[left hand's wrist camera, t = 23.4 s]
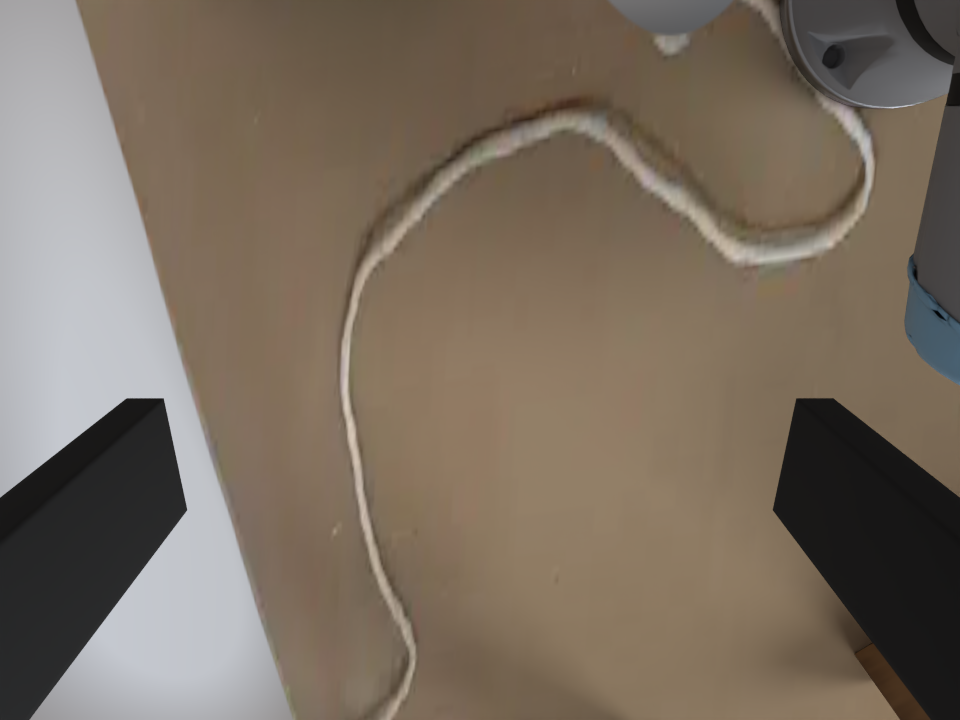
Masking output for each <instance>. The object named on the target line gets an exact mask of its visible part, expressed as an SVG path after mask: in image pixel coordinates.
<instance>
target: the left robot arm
mask: <svg viewBox="0 0 960 720" xmlns="http://www.w3.org/2000/svg"><path fill="white" fill-rule="evenodd" d="M780 15H781V23H782V30H783V34H784V38H785V42H786V44H787V47H788V50H789V53H790V55H791V57H792V59H793V61H794V63H795V64H796V66H797V67H798V69H799V71H800V72H801V73H802V75H803V76H804V77H805V78H806V79H807V81H808V82H809V83H811V84H812V85H813V86H814V87H815V88H816V89H817V90H819V91H820V92H821V93H823V94H824V95H826V96H828V97H829V98H831V99H833V100H835V101H838V102H840V103H842V104H846V105H849V106H853V107H859V108H871V109H879V108H899V107H906V106H912V105H915V104H919V103H923V102H926V101H929V100H932V99H935V98H937V97H940V96H942V95H945V94H947V93H948V97H947V102H946V106H945V109H944V114H943V118H942V123H941V128H940V133H939V137H938V142H937V147H936V151H935V156H934V161H933V166H932V170H931V175H930V180H929V185H928V189H927V194H926V199H925V204H924V208H923V213H922V218H921V222H920V227H919V232H918V237H917V241H916V246H915V251H914V254H913V255H912V256H911V257H910V258H909V262H908V267H907V271H908V278H909V281H910V285H909V292H908V299H907V306H906V313H905V330H906V334H907V337H908V339H909V340H910V342H911V343H912V345H913V346H914V347H915V348H916V350H917V353H918V354H919V356H920V357H921V358H922V359H923V360H924V361H925V362H927V363H928V364H929V365H930V366H931V367H932V368H934V369H935V370H936V371H938V372H939V373H940V374H942V375H943V376H945V377H947V378H948V379H950V380H951V381H953V382H955V383H957V384H958V385H960V0H780ZM186 511H187V507H186V502H185V498H184V493H183V488H182V483H181V479H180V474H179V469H178V464H177V460H176V455H175V450H174V446H173V441H172V436H171V431H170V426H169V422H168V417H167V412H166V408H165V403H164V399H162V398H157V399H156V398H154V399H153V398H152V399H151V398H144V399H143V398H139V399H138V398H135V399H133V398H130V399H129V398H127V399H125V400H124V401H123V402H122V403H120V404H119V405H118V406H116V407H115V408H114V409H113V410H111V411H110V412H109V413H108V414H106V415H105V416H104V417H102V418H101V419H100V420H99V421H97V422H96V423H95V424H94V425H92V426H91V427H90V428H89V429H87V430H86V431H85V432H83V433H82V434H81V435H80V436H78V437H77V438H76V439H74V440H73V441H72V442H71V443H69V444H68V445H67V446H66V447H64V448H63V449H62V450H60V451H59V452H58V453H57V454H55V455H54V456H53V457H51V458H50V459H49V460H48V461H46V462H45V463H44V464H43V465H41V466H40V467H39V468H37V469H36V470H35V471H34V472H32V473H31V474H30V475H29V476H27V477H26V478H25V479H23V480H22V481H21V482H20V483H18V484H17V485H16V486H15V487H13V488H12V489H11V490H10V491H8V492H7V493H6V494H4V495H3V496H2V497H1V498H0V720H29V719H30V718H31V717H32V715H33V714H34V713H35V711H36V710H37V709H38V707H39V706H40V705H41V703H42V702H43V701H44V700H45V698H46V697H47V696H48V694H49V693H50V692H51V690H52V689H53V687H54V686H55V685H56V684H57V682H58V681H59V680H60V678H61V677H62V676H63V674H64V673H65V672H66V670H67V669H68V668H69V666H70V665H71V664H72V662H73V661H74V660H75V658H76V657H77V656H78V654H79V653H80V652H81V650H82V649H83V648H84V646H85V645H86V644H87V642H88V641H89V640H90V638H91V637H92V636H93V634H94V633H95V632H96V630H97V629H98V628H99V626H100V625H101V624H102V622H103V621H104V620H105V619H106V617H107V616H108V614H109V613H110V612H111V611H112V609H113V608H114V607H115V605H116V604H117V603H118V601H119V600H120V599H121V597H122V596H123V595H124V593H125V592H126V591H127V589H128V588H129V587H130V585H131V584H132V583H133V581H134V580H135V579H136V577H137V576H138V575H139V573H140V572H141V571H142V569H143V568H144V567H145V565H146V564H147V563H148V561H149V560H150V559H151V557H152V556H153V555H154V553H155V552H156V551H157V549H158V548H159V547H160V545H161V544H162V543H163V541H164V540H165V539H166V538H167V536H168V535H169V534H170V532H171V531H172V530H173V528H174V527H175V526H176V524H177V523H178V522H179V520H180V519H181V517H182V516H183V515H184V514H185V512H186ZM773 511H774V512H775V514H776V515H777V516H778V518H779V519H780V520H781V522H782V523H783V524H784V526H785V527H786V528H787V530H788V531H789V532H790V534H791V535H792V536H793V538H794V539H795V540H796V541H797V543H798V544H799V545H800V547H801V548H802V549H803V551H804V552H805V553H806V555H807V556H808V557H809V559H810V560H811V561H812V563H813V564H814V565H815V567H816V568H817V569H818V571H819V572H820V573H821V575H822V576H823V577H824V579H825V580H826V581H827V583H828V584H829V585H830V587H831V588H832V589H833V591H834V592H835V593H836V595H837V596H838V597H839V599H840V600H841V601H842V603H843V604H844V605H845V607H846V608H847V609H848V611H849V612H850V613H851V615H852V616H853V617H854V619H855V620H856V621H857V623H858V624H859V625H860V626H861V628H862V629H863V630H864V632H865V633H866V634H867V636H868V637H869V638H870V640H871V641H872V642H873V644H874V645H875V646H876V648H877V649H878V650H879V652H880V653H881V654H882V656H883V657H884V658H885V660H886V661H887V662H888V664H889V665H890V666H891V668H892V669H893V670H894V672H895V673H896V674H897V676H898V677H899V678H900V680H901V681H902V682H903V684H904V685H905V686H906V688H907V689H908V690H909V692H910V693H911V694H912V696H913V697H914V698H915V700H916V701H917V702H918V704H919V705H920V706H921V708H922V709H923V710H924V711H925V713H926V714H927V715H928V717H929V718H930V719H931V720H960V498H959V497H958V496H957V495H956V494H954V493H953V492H952V491H951V490H949V489H948V488H947V487H945V486H944V485H943V484H942V483H940V482H939V481H938V480H937V479H935V478H934V477H933V476H931V475H930V474H929V473H928V472H926V471H925V470H924V469H923V468H921V467H920V466H919V465H917V464H916V463H915V462H914V461H912V460H911V459H910V458H909V457H907V456H906V455H905V454H903V453H902V452H901V451H900V450H898V449H897V448H896V447H895V446H893V445H892V444H891V443H889V442H888V441H887V440H886V439H884V438H883V437H882V436H880V435H879V434H878V433H877V432H875V431H874V430H873V429H872V428H870V427H869V426H868V425H866V424H865V423H864V422H863V421H861V420H860V419H859V418H858V417H856V416H855V415H854V414H852V413H851V412H850V411H849V410H847V409H846V408H845V407H844V406H842V405H841V404H840V403H838V402H837V401H836V400H835V399H833V398H796V403H795V408H794V412H793V417H792V422H791V426H790V431H789V436H788V441H787V445H786V450H785V455H784V460H783V464H782V469H781V474H780V478H779V483H778V488H777V493H776V497H775V502H774V507H773Z"/></svg>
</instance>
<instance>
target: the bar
mask: <svg viewBox="0 0 960 720" xmlns="http://www.w3.org/2000/svg"><path fill="white" fill-rule="evenodd" d="M855 656H856V657H857V659H858V660H859V662H860V663H861V665H862V666H863V667H864V669H865V670H866V672H867V673H868V675H869V676H870V677H871V679H872V680H873V682H874V683H875V685H876V686H877V687H878V689H879V690H880V692H881V693H882V694H883V696H884V697H885V699H886V700H887V702H888V703H889V704H890V706H891V707H892V709H893V710H894V712H895V713H896V714H897V716H898V717H899V719H900V720H931V719H930V718H929V717H928V715H927V714H926V713H925V711H924V710H923V709H922V708H921V706H920V705H919V704H918V702H917V701H916V700H915V698H914V697H913V696H912V694H911V693H910V692H909V690H908V689H907V688H906V686H905V685H904V684H903V682H902V681H901V680H900V678H899V677H898V676H897V674H896V673H895V672H894V670H893V669H892V668H891V666H890V665H889V664H888V662H887V661H886V660H885V658H884V657H883V656H882V654H881V653H880V652H879V650H878V649H877V648H876V646H875V645H874V644H873V643H872V644H870V645H869V646H867V647H865V648H864V649H862V650H860V651H859V652H857V653H855Z"/></svg>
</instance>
